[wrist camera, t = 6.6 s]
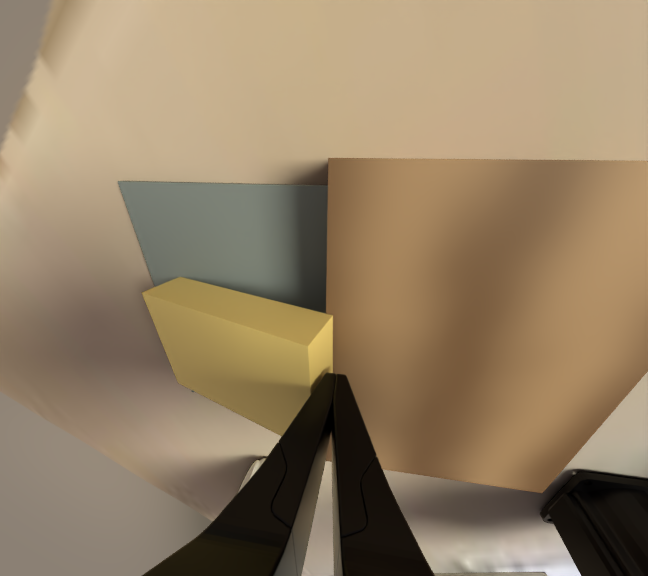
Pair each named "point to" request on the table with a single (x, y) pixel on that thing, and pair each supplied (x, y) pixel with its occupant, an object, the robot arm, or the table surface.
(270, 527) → the robot arm
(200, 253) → the mat
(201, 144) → the table surface
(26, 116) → the table surface
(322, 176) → the table surface
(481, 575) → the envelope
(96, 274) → the table surface
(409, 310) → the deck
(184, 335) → the pale yellow foam brick
